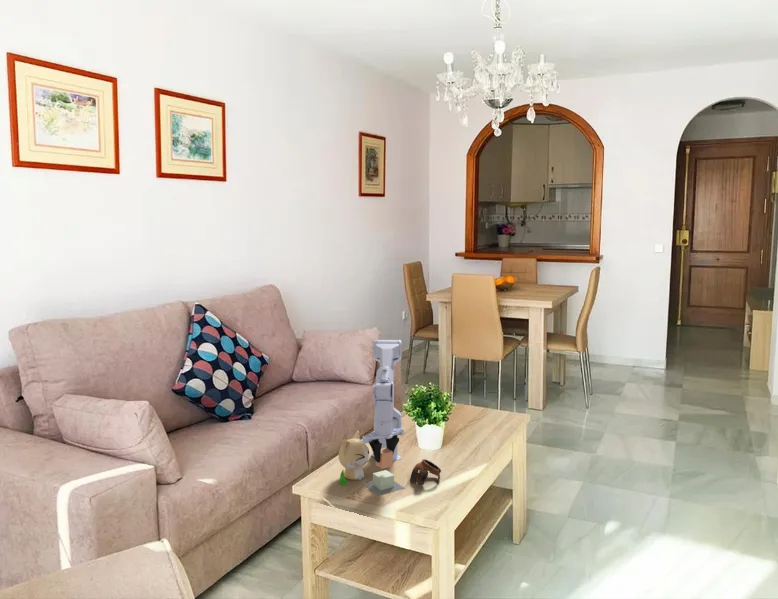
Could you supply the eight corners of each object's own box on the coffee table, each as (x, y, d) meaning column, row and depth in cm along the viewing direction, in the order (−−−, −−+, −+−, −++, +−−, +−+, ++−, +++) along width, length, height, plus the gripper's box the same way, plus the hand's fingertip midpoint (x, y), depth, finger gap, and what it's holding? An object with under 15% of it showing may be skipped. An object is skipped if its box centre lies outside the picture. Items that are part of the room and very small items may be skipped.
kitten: (355, 490, 209) (355, 445, 207) (328, 484, 214) (328, 440, 211) (376, 473, 222) (376, 431, 220) (351, 467, 227) (351, 426, 225)
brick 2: (372, 484, 212) (372, 473, 211) (386, 481, 215) (386, 469, 214) (380, 490, 208) (380, 478, 207) (394, 487, 210) (394, 475, 210)
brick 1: (375, 464, 211) (375, 449, 210) (386, 462, 213) (386, 447, 212) (382, 468, 207) (382, 454, 206) (392, 466, 209) (392, 451, 208)
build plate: (362, 485, 213) (362, 483, 213) (388, 478, 218) (388, 477, 218) (378, 496, 204) (378, 495, 204) (404, 489, 210) (404, 488, 210)
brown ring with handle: (410, 476, 221) (422, 455, 221) (434, 491, 219) (446, 470, 219) (403, 481, 210) (416, 459, 209) (428, 498, 207) (441, 475, 207)
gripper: (370, 427, 201) (370, 468, 203) (409, 419, 208) (409, 459, 210) (359, 420, 207) (359, 461, 209) (397, 413, 214) (397, 452, 216)
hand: (383, 459), depth 210 cm, fingers closed on brick 1, 4 cm apart
